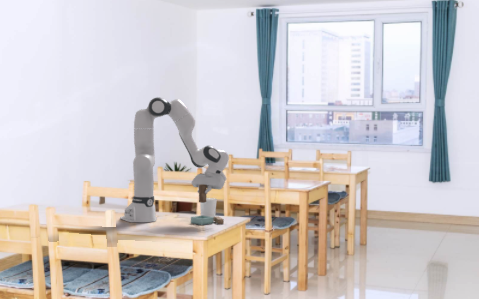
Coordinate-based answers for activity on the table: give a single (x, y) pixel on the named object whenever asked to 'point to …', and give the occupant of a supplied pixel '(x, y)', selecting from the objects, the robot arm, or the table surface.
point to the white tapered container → (208, 207)
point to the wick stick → (202, 193)
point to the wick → (219, 220)
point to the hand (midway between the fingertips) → (202, 192)
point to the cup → (202, 220)
